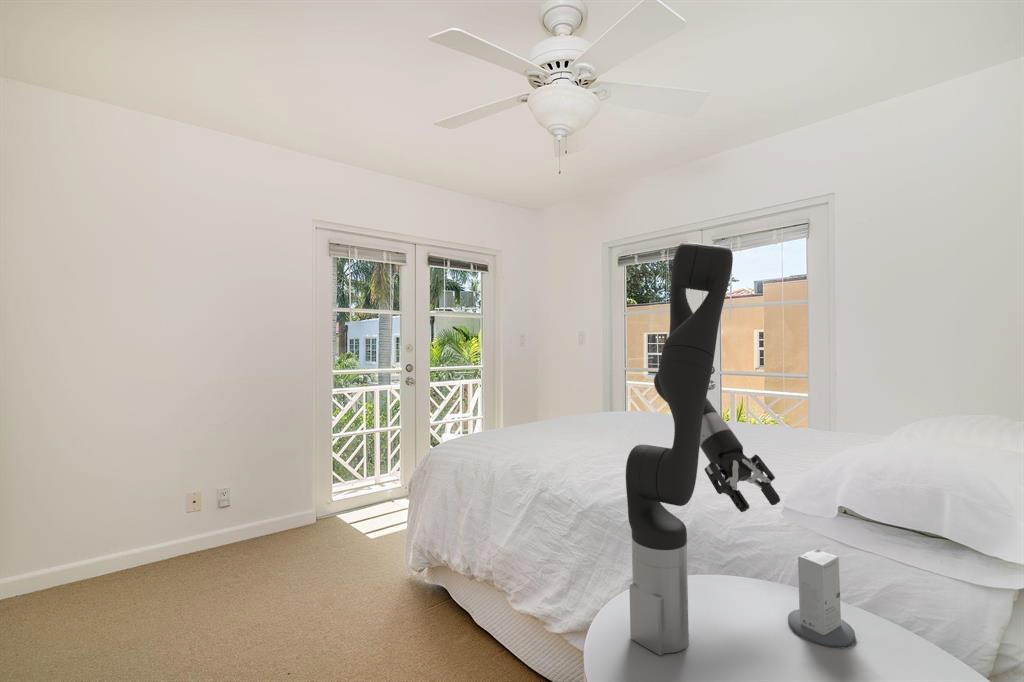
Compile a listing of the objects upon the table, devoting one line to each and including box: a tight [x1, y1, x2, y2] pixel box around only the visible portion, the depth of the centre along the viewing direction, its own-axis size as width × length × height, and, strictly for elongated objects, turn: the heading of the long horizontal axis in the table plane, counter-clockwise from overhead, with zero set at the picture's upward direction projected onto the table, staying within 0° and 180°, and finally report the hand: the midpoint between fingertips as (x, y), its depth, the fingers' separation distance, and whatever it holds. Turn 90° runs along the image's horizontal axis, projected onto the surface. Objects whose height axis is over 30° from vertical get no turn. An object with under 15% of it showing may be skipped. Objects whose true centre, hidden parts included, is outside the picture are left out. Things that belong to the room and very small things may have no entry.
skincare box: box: [797, 548, 842, 635], centre depth 86 cm, size 6×4×12 cm
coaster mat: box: [787, 609, 856, 649], centre depth 86 cm, size 10×10×1 cm
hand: (761, 506), depth 97 cm, fingers open, 8 cm apart
